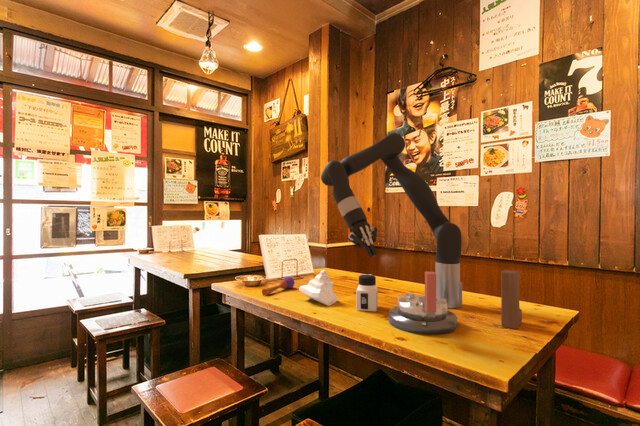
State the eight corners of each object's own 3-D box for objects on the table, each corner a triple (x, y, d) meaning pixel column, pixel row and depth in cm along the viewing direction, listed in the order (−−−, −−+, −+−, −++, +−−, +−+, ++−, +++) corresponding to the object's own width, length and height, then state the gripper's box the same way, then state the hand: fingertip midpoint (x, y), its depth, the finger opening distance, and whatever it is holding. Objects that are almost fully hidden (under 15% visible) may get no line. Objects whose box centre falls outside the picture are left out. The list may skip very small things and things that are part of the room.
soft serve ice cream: (320, 299, 149) (328, 268, 150) (340, 310, 137) (349, 276, 137) (297, 295, 142) (305, 263, 143) (315, 307, 130) (324, 271, 131)
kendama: (258, 286, 151) (286, 275, 168) (261, 299, 151) (288, 287, 168) (268, 285, 148) (295, 274, 165) (270, 298, 148) (297, 286, 164)
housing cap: (437, 312, 125) (437, 303, 125) (470, 333, 103) (470, 322, 103) (380, 314, 122) (380, 305, 122) (402, 336, 100) (402, 325, 100)
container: (376, 311, 125) (376, 277, 125) (356, 310, 127) (356, 276, 127) (377, 306, 133) (377, 273, 133) (358, 305, 134) (358, 272, 134)
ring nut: (395, 305, 121) (395, 260, 121) (441, 307, 119) (441, 261, 119) (403, 330, 96) (403, 273, 96) (461, 333, 94) (461, 274, 94)
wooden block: (507, 319, 116) (507, 268, 116) (521, 322, 113) (521, 269, 113) (500, 326, 109) (501, 271, 109) (516, 329, 106) (516, 273, 106)
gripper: (359, 213, 125) (381, 255, 120) (332, 220, 117) (353, 265, 112) (371, 203, 119) (394, 247, 114) (342, 210, 111) (366, 257, 106)
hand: (374, 256), depth 113 cm, fingers closed
